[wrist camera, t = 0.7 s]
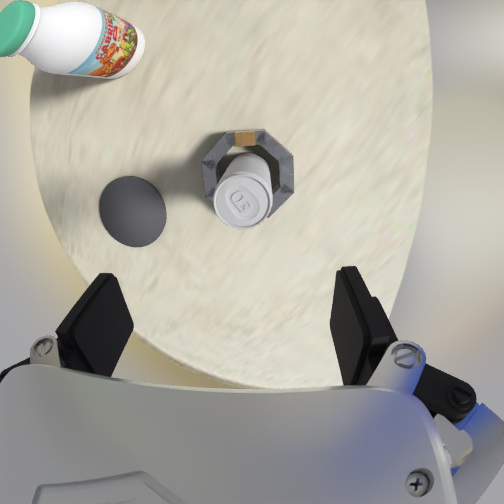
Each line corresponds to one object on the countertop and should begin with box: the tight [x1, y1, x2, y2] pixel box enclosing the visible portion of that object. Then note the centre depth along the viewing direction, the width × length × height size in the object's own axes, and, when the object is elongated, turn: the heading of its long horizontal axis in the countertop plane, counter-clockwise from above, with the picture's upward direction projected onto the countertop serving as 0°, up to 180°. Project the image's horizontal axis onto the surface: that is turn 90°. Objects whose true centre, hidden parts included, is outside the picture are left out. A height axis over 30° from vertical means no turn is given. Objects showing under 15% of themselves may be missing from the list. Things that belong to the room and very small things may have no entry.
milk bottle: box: [0, 0, 145, 79], centre depth 16 cm, size 8×8×20 cm
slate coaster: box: [100, 176, 166, 247], centre depth 35 cm, size 10×10×1 cm
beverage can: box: [213, 153, 273, 229], centre depth 27 cm, size 5×5×12 cm
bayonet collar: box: [201, 129, 294, 218], centre depth 31 cm, size 10×10×3 cm
